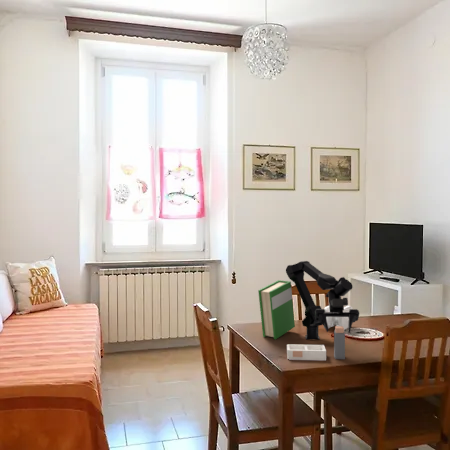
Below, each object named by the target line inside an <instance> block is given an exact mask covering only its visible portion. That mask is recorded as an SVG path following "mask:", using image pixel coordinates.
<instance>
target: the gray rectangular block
mask: <svg viewBox="0 0 450 450" xmlns="http://www.w3.org/2000/svg"><path fill="white" fill-rule="evenodd" d="M333 358H334V359H335V360H346V333H345V330H344V328H343V326H337V325H334V331H333Z"/></svg>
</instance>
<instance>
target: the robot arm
mask: <svg viewBox="0 0 450 450" xmlns="http://www.w3.org/2000/svg"><path fill="white" fill-rule="evenodd" d="M285 273H286V275H287V277H288V279H289V280H291V282H293V283H294V285H295V288H296V289H297V292H298V294H299V297H300V299H301V301H302V304H303V306H304V308H305V310H304V318H303V319H302V320H301V325H302V326H303V327H306V334H305V340H308V341H309V340H310V341H311V340H314V341H319V340H321V338H320V336H319V326H323V328H324V327H325V328H324V329H325V331H326V333H329V329H328V325H327V320H326V317H348V318H349V321H348V328H347V329H348V333H351V331H352V330H351V329H352V325H353V323H356V322H358V320H359V317H360V311H359V309H358V308H353V309H349V312H343V310H344V307H346V306H349V301H348V300H349V299H348V297H344V296H346V295H347V294H348V293H349V292H350V291H351V290H353V288H354V287H353V284H352V282H351V281H349V280H348V279H346V278H345V276H342V277H340V278H339V279H338V280H337V279H336V277H334V276H332V275H330V274H327V273H324V272H322V271H321V270H319V268H317V267H315V266H314V265H313V264H312V263H310V261H308V260H302V261H299V262H297V263H294V264H289V265H287V266H286V269H285ZM305 274H307V275H308V276H310V277H311V278H312V279H314V281H316V284H317V286H318V288H320V289H321V290H323V291H327V290H328V292H327V293H326V295H325V297H326V298H328V306H329V309H330V312H325V309H324V308H322V306H321V305H316V304H315V302H314V299H313V297H312V294H311V293H310V290H309V288H308V286H307V284H306V282H305V279H304V276H305Z"/></svg>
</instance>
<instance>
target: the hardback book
mask: <svg viewBox="0 0 450 450" xmlns="http://www.w3.org/2000/svg"><path fill="white" fill-rule="evenodd" d="M258 299H259V300H258V301H259V309H260V310H259V311H260V318H261V319H260V320H261V321H260V322H261V328H262V331H261V332H262V337H263V338H266V337H271V338H273V340H277V339H279V338H281V337H282V336H283V335H285V334H286V333H287V332H290V331H291V330H292V329H294V328H295V327H296V325H295V315H294V302H293V292H292V281H290V280H279V279H278V280H275V281H274V282H273V283H270V284H268V285H266V286H264V287H262V288H260V289H258Z"/></svg>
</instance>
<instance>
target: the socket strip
mask: <svg viewBox="0 0 450 450" xmlns="http://www.w3.org/2000/svg"><path fill="white" fill-rule="evenodd" d="M286 355H287V356H286V357H287V360H288V359H289V360H290V361H292V360H293V361H327V349H326V347H325V344H296V343H295V344H292V343H291V344H286Z"/></svg>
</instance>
